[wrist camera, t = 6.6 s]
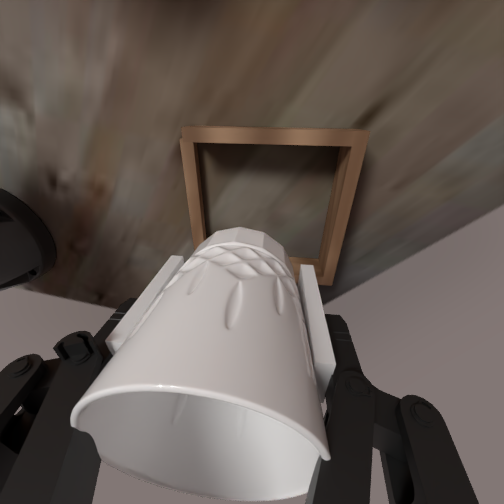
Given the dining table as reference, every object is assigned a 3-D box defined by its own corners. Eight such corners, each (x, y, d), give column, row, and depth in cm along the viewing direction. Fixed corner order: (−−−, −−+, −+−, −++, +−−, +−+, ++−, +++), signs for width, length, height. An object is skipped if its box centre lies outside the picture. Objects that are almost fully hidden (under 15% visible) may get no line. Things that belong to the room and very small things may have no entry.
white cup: (268, 326, 18) (259, 514, 9) (174, 288, 17) (68, 462, 8) (325, 249, 14) (398, 455, 6) (206, 194, 13) (69, 343, 4)
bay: (198, 258, 32) (189, 275, 29) (182, 125, 24) (165, 126, 20) (325, 266, 31) (331, 285, 27) (356, 129, 22) (370, 131, 19)
